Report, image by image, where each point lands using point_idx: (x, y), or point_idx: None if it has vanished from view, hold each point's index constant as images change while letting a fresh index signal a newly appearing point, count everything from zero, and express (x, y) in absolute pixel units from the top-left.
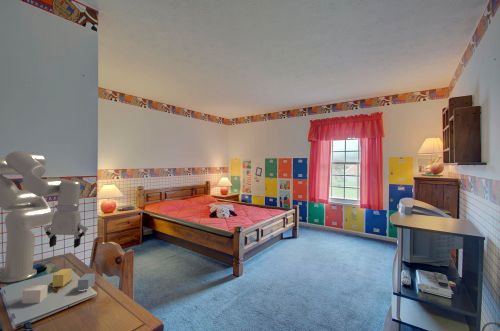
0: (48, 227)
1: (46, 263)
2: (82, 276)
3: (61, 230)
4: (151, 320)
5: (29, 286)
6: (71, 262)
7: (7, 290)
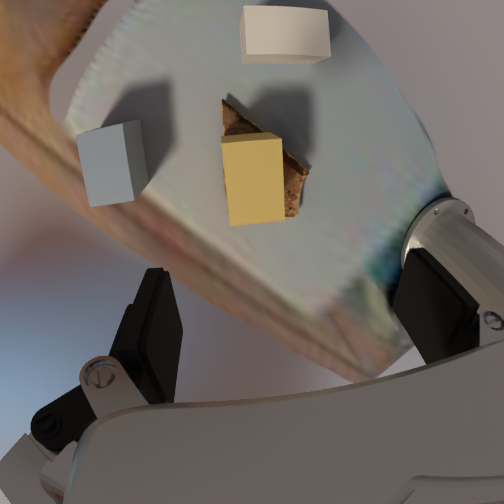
0: None
1: (399, 331)
2: (127, 165)
3: (432, 465)
4: None
5: (329, 46)
6: (329, 350)
7: (423, 138)
